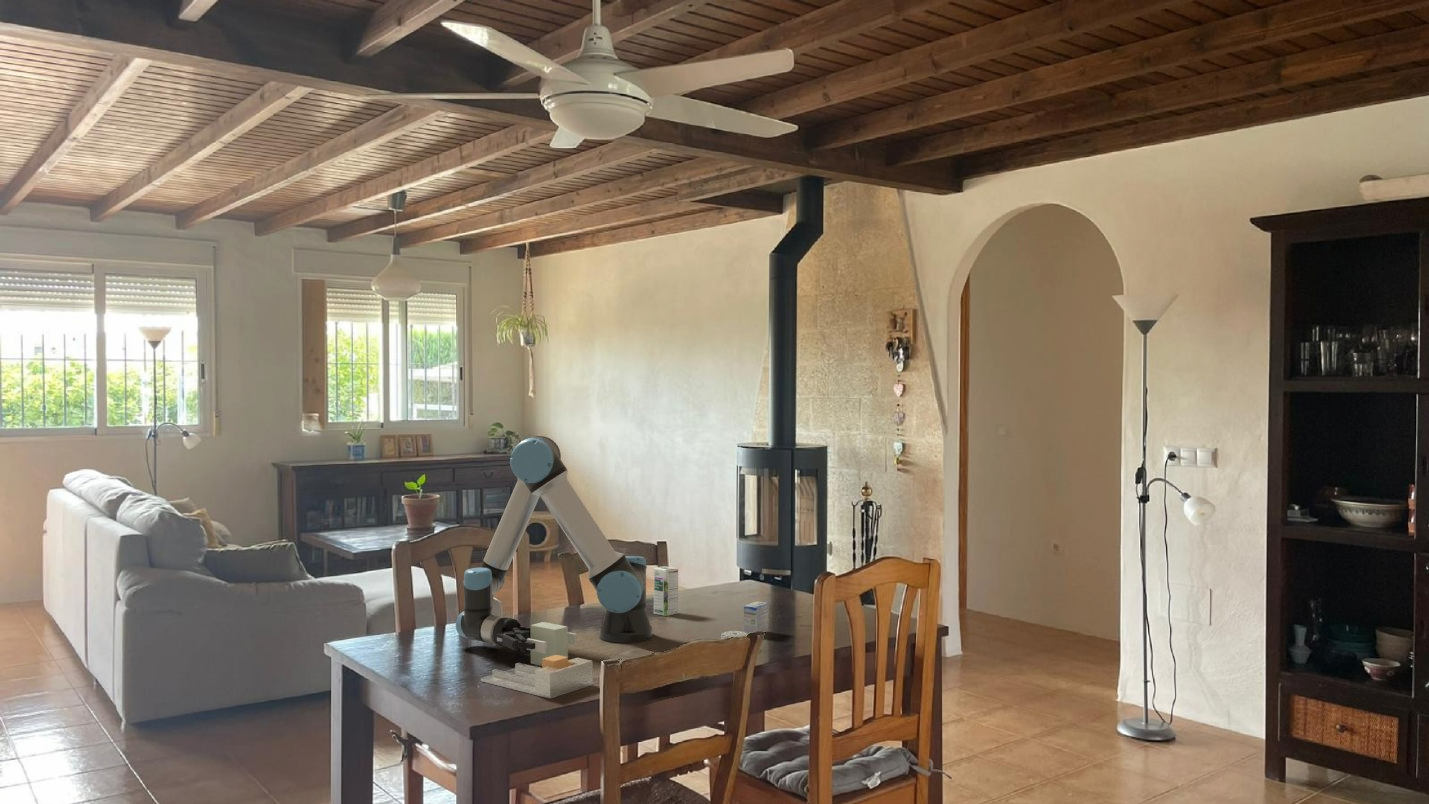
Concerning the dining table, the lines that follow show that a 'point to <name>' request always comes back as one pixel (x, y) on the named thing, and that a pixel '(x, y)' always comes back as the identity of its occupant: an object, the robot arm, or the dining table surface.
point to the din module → (549, 640)
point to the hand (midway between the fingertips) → (560, 643)
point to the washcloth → (630, 654)
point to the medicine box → (756, 617)
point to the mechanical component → (732, 634)
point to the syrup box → (665, 591)
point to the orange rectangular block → (555, 662)
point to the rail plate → (521, 680)
